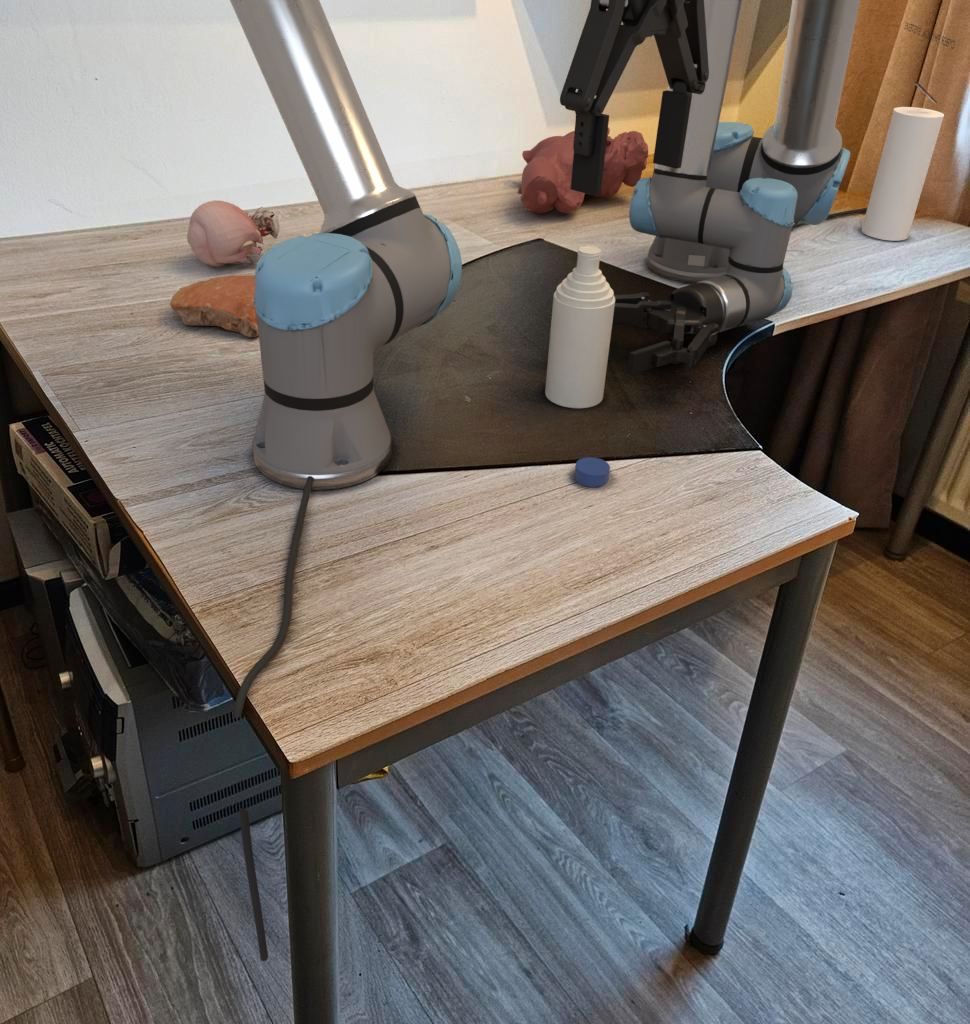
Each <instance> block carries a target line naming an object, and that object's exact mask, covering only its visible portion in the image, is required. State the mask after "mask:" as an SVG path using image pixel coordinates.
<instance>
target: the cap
mask: <svg viewBox="0 0 970 1024" xmlns="http://www.w3.org/2000/svg"><path fill="white" fill-rule="evenodd" d="M610 470H611V466H610V464H609V463H608V462H607V461H605V460H603V459H601V458H599V457H591V456H590V457H589V456H587V457H581V458H580V459H578V460H577V461H576V462H575V467H574V474H573V475H574V476H573V477H574V479H575V481H576V482H577V483H578V484H580V485H582V486H584V487H589V488H600V487H603V486H605V485H607V484H608V483H609V478H610Z"/></svg>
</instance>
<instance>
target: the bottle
mask: <svg viewBox="0 0 970 1024" xmlns="http://www.w3.org/2000/svg"><path fill="white" fill-rule="evenodd" d="M576 254H577V257H576V258H577V260H576V266H575V267H574V268H572V272H571V271H570V273H568V274H567V276H566V278H563V280H562V281H561V283H559V284H558V285H557V286H556V290H555V291H554V293H553V299H552V310H551V322H550V331H549V332H550V333H549V345H548V355H547V366H546V367H547V368H546V377H545V378H546V380H545V390H544V394H545V397H546V398H547V400H549V401H550V402H551V403H554V404H555V405H558V406H561V407H564V408H569V409H570V408H571V409H588V408H592V407H596V406H597V405H599V404H600V403H601V402H603V399H604V393H605V385H606V376H607V369H608V360H609V353H610V344H611V338H612V331H613V330H612V329H613V323H612V322H613V314H614V306H615V297H614V295H615V293H614V290H613V289H612V287H611V286H610V285H611V284H610V283H609V282H608V281H607V278H606V276H604V274H603V272H602V270H601V269H600V262H601V261H600V260H601V257H602V251H601V249H600V248H599V247H596V246H593V245H584V246H583V245H582V246H580V247H578V249H577V252H576Z"/></svg>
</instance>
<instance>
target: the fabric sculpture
mask: <svg viewBox="0 0 970 1024" xmlns="http://www.w3.org/2000/svg"><path fill="white" fill-rule="evenodd" d="M610 130H611V129H610V127H609V126H608V132H607V141H606V150H605V159H604V169H603V178H602V187H601V195H598V196H595V197H596V198H599V197H604V198H606V197H608V198H610V197H613V196H614V195H617V194H618V192H619V191H620V189H621V186H622V184H624V185H625V186H627V187H631V188H635V186H636V184H637V182H638V181H639V180H640V179H642V174H643V171H645V170H646V169H647V164H648V161H647V160H648V157H649V146H648V143H647V142H646V141H645V139H644V135H643V134H642V132H638V131H636V130H631V131H628V132H627V131H624V132H621V133H618V135H617V136H615V137H614V138H612V137H611V136H610V135H609V134H610ZM574 132H575V130H573V131H570V132H568V133H566V134H565V135H554V136H549V137H546V138H544V139H542V140H540V141H539V142H538V143H536V145H535V146H534V147H532V148H531V149H529V150H523V151H522V153H521V156H522V158H523V160H524V162H525V163H526V164H525V166H524V168H523V170H522V172H521V173H522V174H521V180H520V181H521V182H520V185H519V186H518V189H517V194H518V195H520V200H521V202H522V203H523V207H524V209H525V210H529V211H530V212H532V213H535V214H546V213H549V212H551V211H552V210H553V209H554V208H555V209H556V210H557V211H559V212H560V213H564V214H569V213H573V212H575V211H578V209H579V208H581V206H582V203H584V199H585V195H586V193H582V192H578V191H575V190H571V189H570V188H571V178H572V167H573V156H574V150H573V143H574V135H575V134H574Z"/></svg>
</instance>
